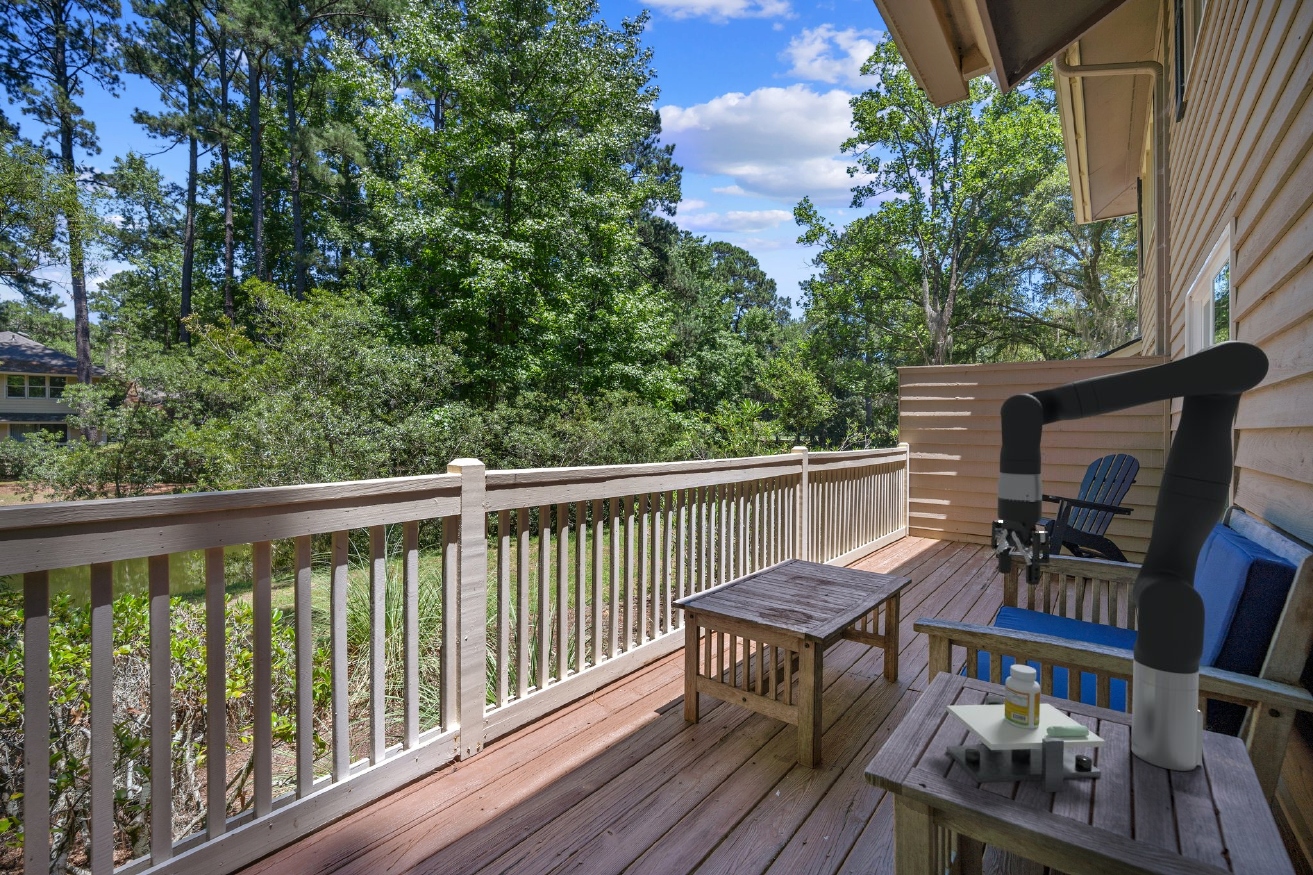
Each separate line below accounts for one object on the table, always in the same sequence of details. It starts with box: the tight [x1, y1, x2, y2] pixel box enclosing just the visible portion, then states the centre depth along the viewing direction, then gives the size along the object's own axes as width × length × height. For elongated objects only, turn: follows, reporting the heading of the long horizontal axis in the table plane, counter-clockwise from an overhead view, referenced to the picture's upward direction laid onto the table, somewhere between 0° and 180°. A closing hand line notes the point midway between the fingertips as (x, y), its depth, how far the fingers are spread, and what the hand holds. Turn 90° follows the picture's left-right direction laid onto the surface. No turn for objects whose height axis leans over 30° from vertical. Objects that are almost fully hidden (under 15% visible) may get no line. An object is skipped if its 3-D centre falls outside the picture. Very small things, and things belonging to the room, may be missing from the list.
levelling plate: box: [946, 703, 1106, 750], centre depth 113 cm, size 20×14×3 cm
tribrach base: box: [946, 695, 1102, 793], centre depth 113 cm, size 22×17×8 cm
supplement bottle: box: [1004, 664, 1041, 729], centre depth 113 cm, size 5×5×10 cm
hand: (1018, 578), depth 125 cm, fingers open, 8 cm apart
